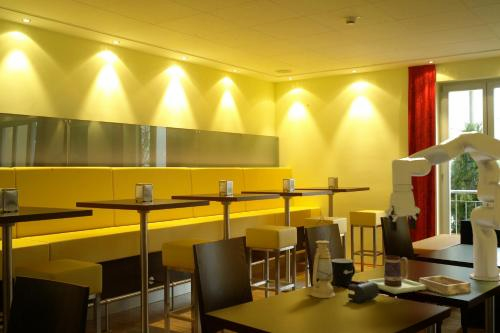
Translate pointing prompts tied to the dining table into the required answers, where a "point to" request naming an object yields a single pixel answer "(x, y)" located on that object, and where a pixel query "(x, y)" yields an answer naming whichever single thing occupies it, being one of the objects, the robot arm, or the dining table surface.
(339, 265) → the mug
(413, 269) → the dining table surface
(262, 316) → the dining table surface
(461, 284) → the tray
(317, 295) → the lantern
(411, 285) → the tray
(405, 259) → the mug
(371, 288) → the end cap
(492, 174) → the robot arm
